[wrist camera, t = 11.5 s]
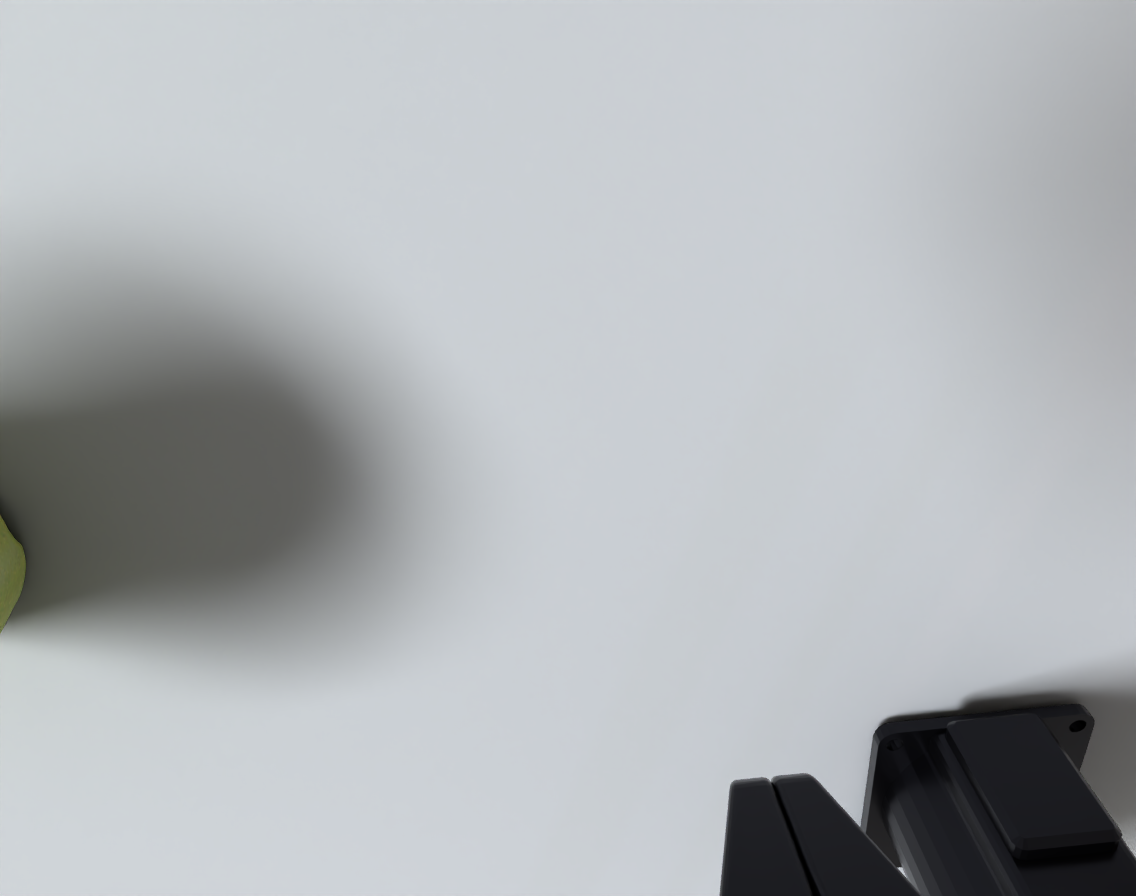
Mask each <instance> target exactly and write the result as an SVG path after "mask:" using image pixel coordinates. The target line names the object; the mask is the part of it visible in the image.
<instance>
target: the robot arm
mask: <svg viewBox="0 0 1136 896" xmlns="http://www.w3.org/2000/svg"><path fill="white" fill-rule="evenodd" d="M1093 727H1094V719H1093V717H1092V716H1091V714H1090V713H1089V712H1088V711H1087V709H1086V708H1085V707H1084V706H1082V705H1080V704H1069V705H1060V706H1050V707H1040V708H1030V709H1020V710H1010V711H1001V712H991V713H981V714H971V715H961V716H951V717H941V718H932V719H922V720H912V721H902V722H892V723H888V724H884V725H882V726H881V727H879V728H878V729H877V730H876V731H875V733H874V735H873V741H872V748H871V755H870V763H869V770H868V777H867V784H866V792H865V799H864V806H863V813H862V821H861V828H860V827H859V826H858V824H857V823H856V822H855V821H854V820H853V819H852V818H851V817H850V816H849V815H848V814H847V812H846V811H845V810H844V809H843V808H842V807H841V806H840V805H839V804H838V803H837V801H836V800H835V799H834V798H833V797H832V796H831V795H830V794H829V793H828V792H827V790H826V789H825V788H824V787H823V786H822V785H821V784H820V783H819V782H818V781H817V780H816V779H815V778H814V777H813V776H811V775H809V774H806V773H800V774H790V775H780V776H775V777H773V778H772V780H771V782H770V781H769V779H767V778H763V777H761V778H751V779H741V780H735V781H733V782H732V783H731V785H730V791H729V801H728V812H727V822H726V833H725V844H724V854H723V865H722V875H721V886H720V896H1136V858H1135V856H1134V855H1133V853H1132V852H1131V850H1130V849H1129V847H1128V846H1127V845H1126V843H1125V842H1124V840H1123V839H1122V833H1121V831H1120V829H1119V827H1118V826H1117V825H1116V823H1115V822H1114V820H1113V819H1112V817H1111V816H1110V815H1109V813H1108V812H1107V810H1106V809H1105V807H1104V806H1103V805H1102V803H1101V802H1100V800H1099V799H1098V797H1097V796H1096V795H1095V793H1094V792H1093V790H1092V789H1091V787H1090V786H1089V785H1088V783H1087V782H1086V780H1085V779H1084V777H1083V776H1082V775H1081V773H1080V772H1079V771H1080V768H1081V765H1082V762H1083V758H1084V755H1085V752H1086V749H1087V746H1088V743H1089V740H1090V736H1091V733H1092V730H1093ZM897 867H902V868H903V870H904V872H905V875H906V877H907V878H906V877H905V876H904V875H903V874H902V873H901V872H900V871H899V869H898V868H897Z"/></svg>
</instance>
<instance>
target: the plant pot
mask: <svg viewBox="0 0 1136 896" xmlns="http://www.w3.org/2000/svg"><path fill="white" fill-rule="evenodd" d="M25 573H26V561H25V555H24V550H23V547H22V545H21V544H20V543H19V542H18V541H17V540H16V539H15V538H14V537H13V536H12V534H11V533H10V531H9V530H8V528H7V526H6V524H5V523H4V521H3V519H2V517H1V515H0V633H1V631H2V629H3V627H4V625H5V624H6V622H7V620H8V618H9V616H10V614H11V612H12V610H13V608H14V606H15V604H16V603H17V601H18V599H19V597H20V595H21V591H22V588H23V585H24V579H25Z"/></svg>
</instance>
